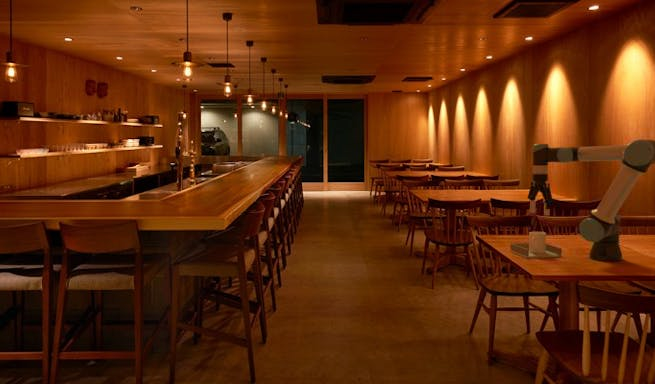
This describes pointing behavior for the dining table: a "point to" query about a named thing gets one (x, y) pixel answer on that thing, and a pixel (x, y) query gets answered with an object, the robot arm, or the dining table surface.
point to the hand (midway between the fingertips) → (539, 214)
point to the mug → (537, 242)
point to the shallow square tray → (523, 251)
